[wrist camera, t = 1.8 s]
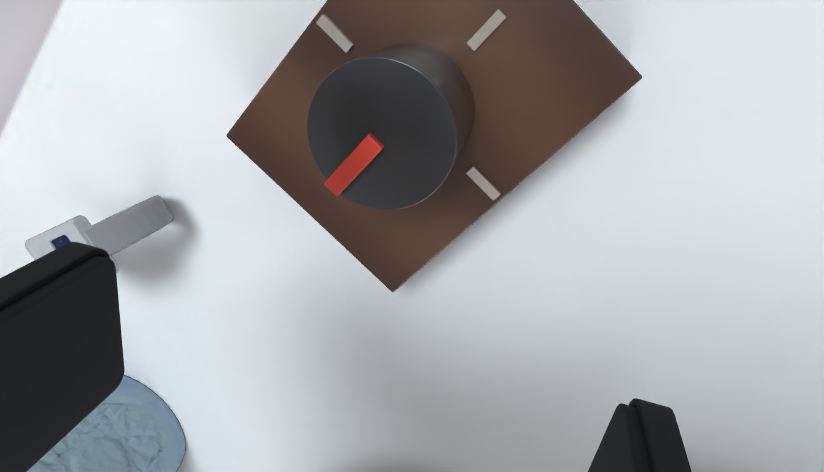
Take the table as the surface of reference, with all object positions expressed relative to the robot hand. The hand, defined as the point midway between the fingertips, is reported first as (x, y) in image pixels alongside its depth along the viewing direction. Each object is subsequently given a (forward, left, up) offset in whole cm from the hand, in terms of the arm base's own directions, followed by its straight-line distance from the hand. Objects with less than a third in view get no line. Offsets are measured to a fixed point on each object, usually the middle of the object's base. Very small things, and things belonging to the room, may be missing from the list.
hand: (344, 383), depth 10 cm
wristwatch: (+15, +7, -14) cm, 22 cm away
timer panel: (+2, -2, -14) cm, 15 cm away
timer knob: (+2, -2, -11) cm, 12 cm away
